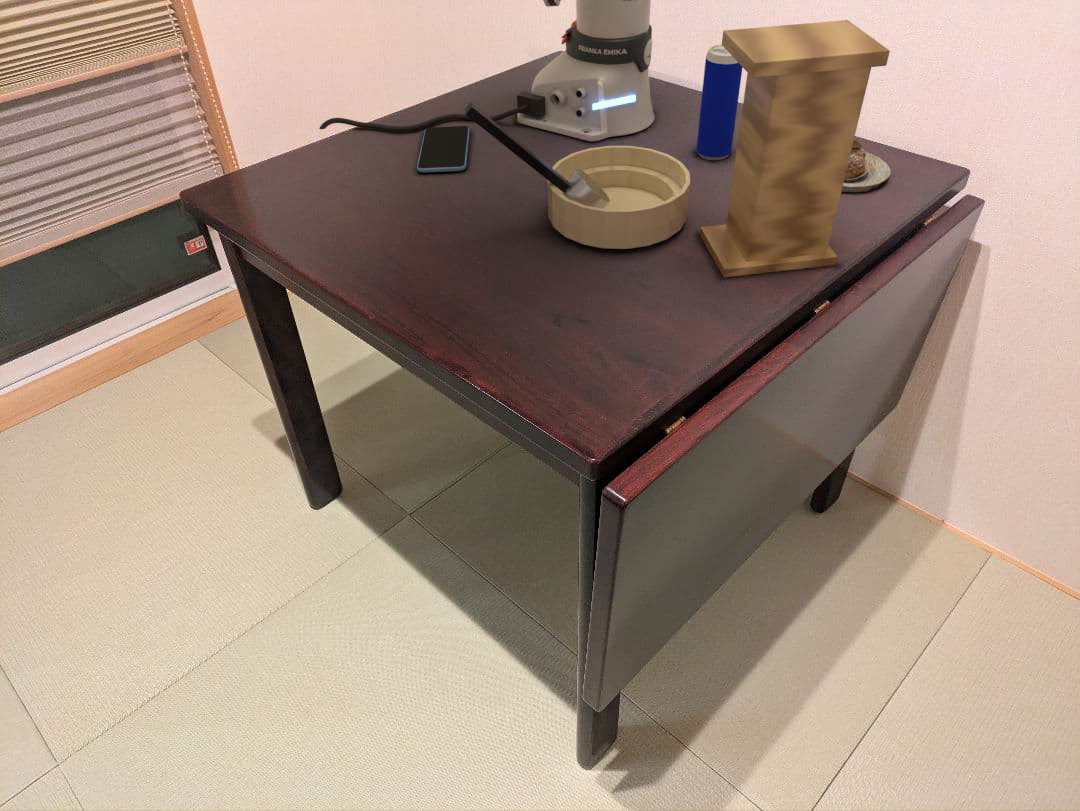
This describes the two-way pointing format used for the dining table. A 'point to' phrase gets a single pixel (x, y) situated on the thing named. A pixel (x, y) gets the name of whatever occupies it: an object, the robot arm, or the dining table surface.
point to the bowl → (623, 197)
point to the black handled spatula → (544, 164)
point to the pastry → (864, 170)
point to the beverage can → (718, 104)
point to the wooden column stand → (792, 143)
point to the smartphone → (444, 149)
